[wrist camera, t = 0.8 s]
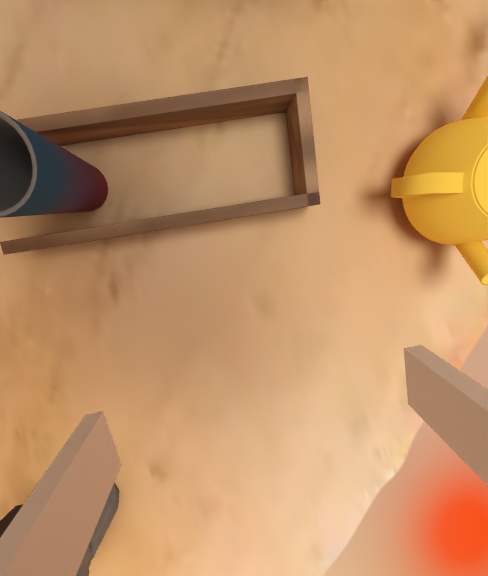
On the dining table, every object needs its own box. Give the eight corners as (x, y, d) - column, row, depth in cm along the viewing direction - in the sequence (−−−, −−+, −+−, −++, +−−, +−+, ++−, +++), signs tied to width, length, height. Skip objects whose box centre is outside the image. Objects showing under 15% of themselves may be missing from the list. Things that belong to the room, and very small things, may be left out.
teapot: (365, 99, 34) (430, 42, 23) (522, 86, 35) (658, 25, 24) (366, 279, 38) (423, 302, 28) (507, 264, 39) (616, 281, 28)
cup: (115, 156, 34) (32, 107, 19) (117, 221, 35) (40, 221, 21) (49, 151, 33) (-88, 97, 19) (53, 217, 35) (-71, 214, 20)
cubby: (1, 141, 33) (-37, 127, 28) (295, 97, 34) (307, 76, 29) (34, 249, 35) (3, 254, 30) (307, 206, 36) (320, 204, 31)
